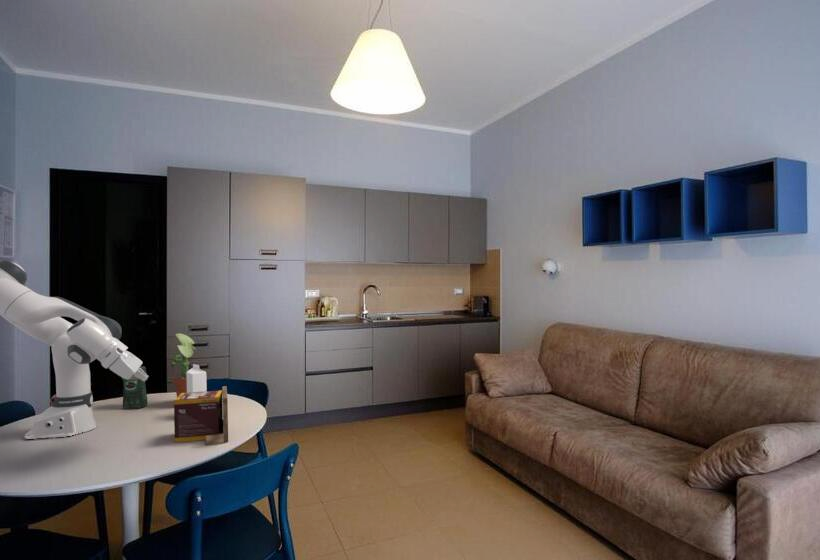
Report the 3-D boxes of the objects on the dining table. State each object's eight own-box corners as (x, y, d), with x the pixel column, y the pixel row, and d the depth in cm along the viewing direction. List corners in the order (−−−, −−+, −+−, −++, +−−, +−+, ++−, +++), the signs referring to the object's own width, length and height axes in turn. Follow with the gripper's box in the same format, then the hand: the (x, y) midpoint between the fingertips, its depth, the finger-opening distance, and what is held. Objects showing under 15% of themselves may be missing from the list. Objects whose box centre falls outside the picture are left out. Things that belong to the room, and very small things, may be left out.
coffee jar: (150, 404, 222) (149, 364, 222) (142, 409, 214) (141, 368, 214) (128, 404, 221) (127, 365, 221) (119, 410, 214) (118, 368, 213)
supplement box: (219, 438, 176) (218, 396, 176) (174, 442, 173) (173, 399, 172) (223, 429, 186) (223, 389, 186) (181, 433, 183) (180, 392, 182)
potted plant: (163, 407, 216) (161, 330, 215) (189, 398, 231) (187, 326, 230) (190, 410, 211) (188, 332, 210) (215, 401, 225) (213, 327, 224)
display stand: (206, 445, 170) (205, 400, 169) (207, 428, 187) (206, 388, 187) (228, 442, 172) (227, 398, 172) (227, 426, 190) (226, 386, 190)
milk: (193, 419, 200) (191, 366, 199) (187, 416, 204) (185, 364, 203) (207, 415, 204) (206, 364, 203) (201, 412, 208) (200, 362, 207)
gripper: (112, 356, 176) (143, 379, 180) (100, 366, 157) (135, 392, 161) (126, 343, 177) (156, 366, 181) (116, 352, 159) (150, 378, 163)
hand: (146, 379), depth 171 cm, fingers closed
